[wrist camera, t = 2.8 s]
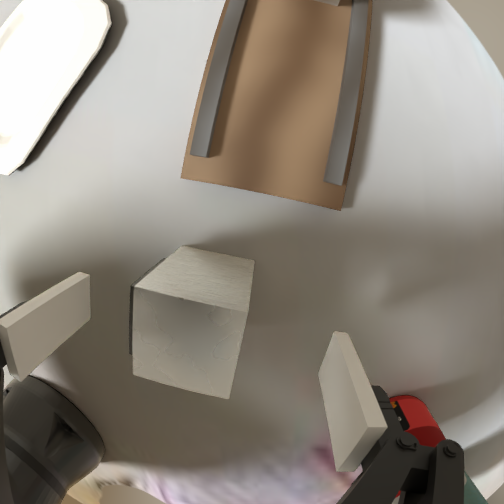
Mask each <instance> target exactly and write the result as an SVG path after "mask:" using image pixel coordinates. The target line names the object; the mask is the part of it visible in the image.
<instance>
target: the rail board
mask: <svg viewBox="0 0 504 504" xmlns="http://www.w3.org/2000/svg"><path fill="white" fill-rule="evenodd" d="M371 15H372V0H226V1H225V4H224V7H223V10H222V13H221V16H220V20H219V23H218V26H217V29H216V32H215V36H214V39H213V42H212V46H211V49H210V53H209V56H208V60H207V63H206V67H205V71H204V74H203V78H202V82H201V86H200V90H199V94H198V98H197V102H196V106H195V111H194V115H193V119H192V124H191V128H190V133H189V138H188V143H187V147H186V152H185V157H184V163H183V168H182V173H181V178H183V179H189V180H195V181H201V182H206V183H212V184H218V185H223V186H229V187H234V188H239V189H244V190H249V191H254V192H259V193H264V194H269V195H274V196H278V197H283V198H287V199H292V200H297V201H301V202H305V203H310V204H314V205H318V206H322V207H327V208H331V209H335V210H339V211H341V208H342V203H343V199H344V194H345V190H346V185H347V180H348V176H349V171H350V166H351V161H352V156H353V150H354V145H355V140H356V134H357V128H358V122H359V116H360V110H361V103H362V97H363V90H364V83H365V75H366V67H367V58H368V49H369V39H370V28H371Z"/></svg>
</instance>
